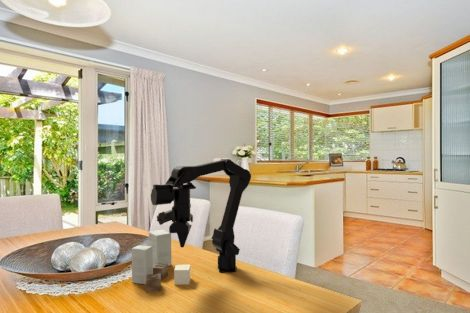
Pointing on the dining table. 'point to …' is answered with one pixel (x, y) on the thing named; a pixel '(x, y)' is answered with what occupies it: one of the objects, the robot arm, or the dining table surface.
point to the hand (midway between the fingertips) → (182, 247)
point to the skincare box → (141, 263)
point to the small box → (160, 246)
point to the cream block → (181, 274)
